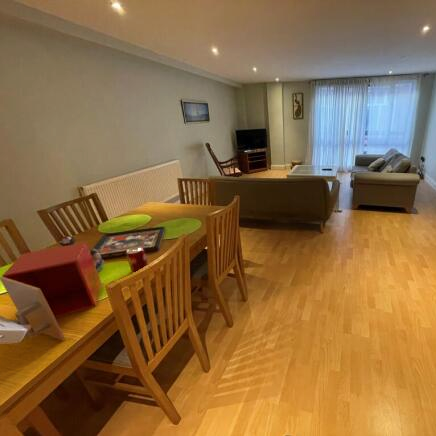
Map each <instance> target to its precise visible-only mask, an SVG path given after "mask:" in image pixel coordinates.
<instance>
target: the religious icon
mask: <svg viewBox="0 0 436 436" xmlns="http://www.w3.org/2000/svg"><path fill="white" fill-rule="evenodd" d="M165 231H166V226H157V227H148V228H141V229H140V228H139V229H133V230H125V231H116V232H109V233H104V234H103V235H102V237H101V238H100V239H99V240H98V242H96V244H95V245H94V246H93V247H92V249H93V248H94V249H97V250H98V252H99V254H100V255H101V259H106V258H107V259H108V258H112V257H113V258H115V257H120V256H121V257H122V256H126V251H127V250H128V249H130V248H133V247H142V248H143V249H144V252H145V253H146V252H147V253H148V252H153V251H159V249H160V247H161V245H162V241H163V237H164V234H165Z"/></svg>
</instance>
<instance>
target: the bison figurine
mask: <svg viewBox="0 0 436 436" xmlns="http://www.w3.org/2000/svg"><path fill="white" fill-rule="evenodd" d="M89 251H90V253H91V256H92V259H93V261H94V264H95V267H96V269H97V272H98V273H99V271H100V270H101V269H102V267H103V266H104V264H105V260H104V259H103V258H101V255H100V254H99V252H98V250H97V249H94V248H93V247H92V248H90V249H89Z"/></svg>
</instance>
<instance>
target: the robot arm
mask: <svg viewBox="0 0 436 436" xmlns="http://www.w3.org/2000/svg"><path fill="white" fill-rule="evenodd" d="M30 328H31V325H30V324H22V325H21V324H20V322H19V320H13V319H9V318H6V317H5V316H2V315H0V344H3V345H5V344H8V345H9V344H18V343H21V342H22V341H23V339H24V338H25V336H26V335H27V334H26V332H27V331H29V330H30Z"/></svg>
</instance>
